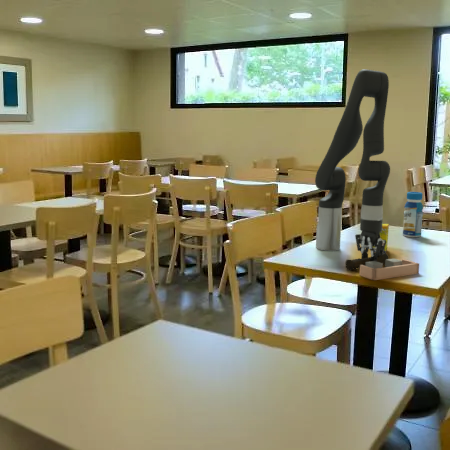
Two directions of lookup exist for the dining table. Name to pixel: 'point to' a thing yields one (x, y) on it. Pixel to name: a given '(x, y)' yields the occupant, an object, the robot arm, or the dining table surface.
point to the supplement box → (384, 235)
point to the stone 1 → (374, 264)
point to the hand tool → (364, 261)
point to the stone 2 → (392, 262)
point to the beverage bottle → (413, 215)
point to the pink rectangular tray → (390, 270)
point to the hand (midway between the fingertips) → (368, 264)
